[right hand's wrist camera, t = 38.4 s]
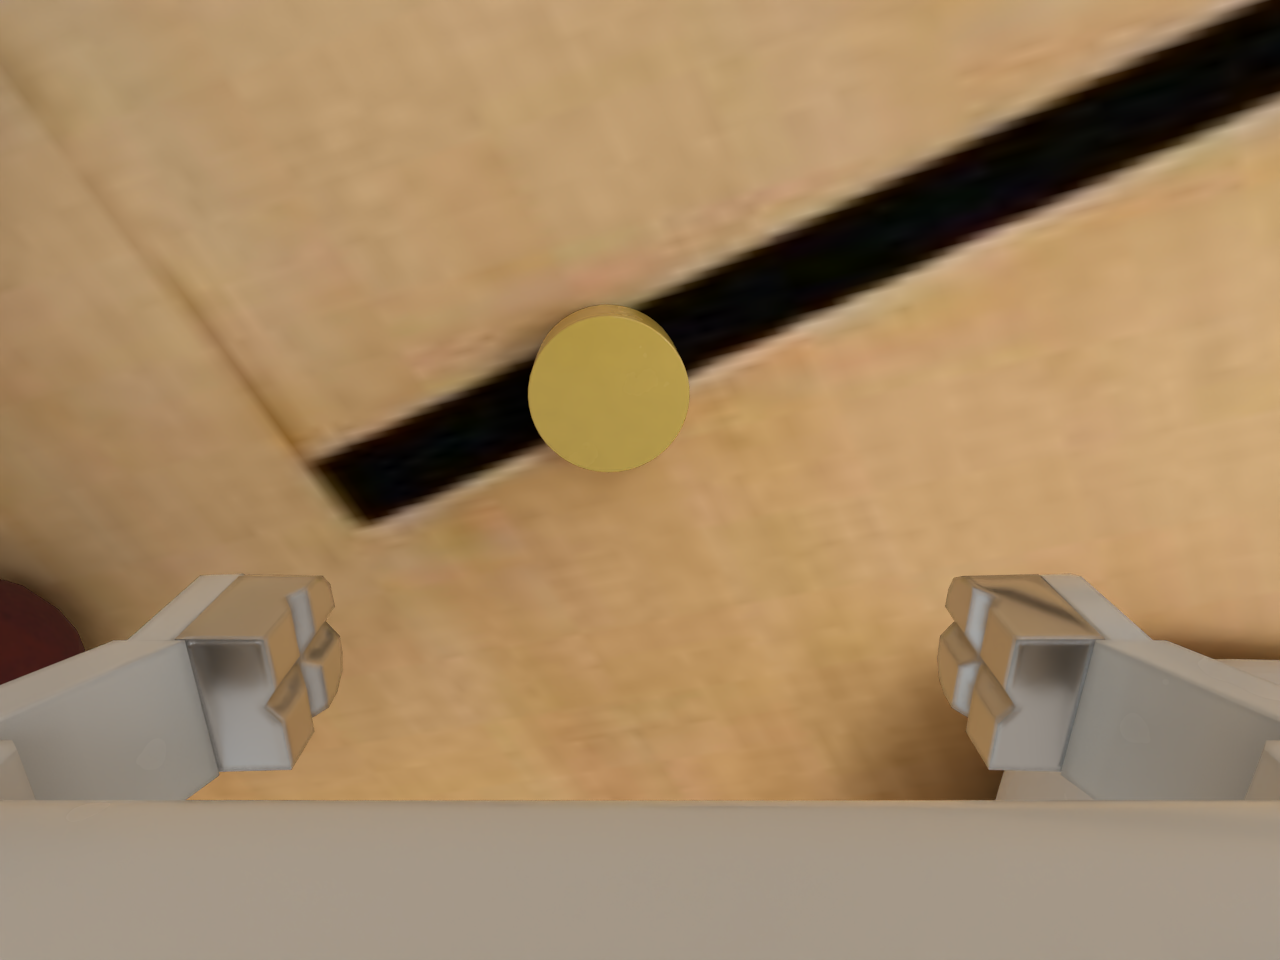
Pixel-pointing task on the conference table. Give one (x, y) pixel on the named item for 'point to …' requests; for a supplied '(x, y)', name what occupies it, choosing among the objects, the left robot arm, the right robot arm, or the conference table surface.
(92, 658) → the right robot arm
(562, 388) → the cap
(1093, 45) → the conference table surface
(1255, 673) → the white rounded housing
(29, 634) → the potato
